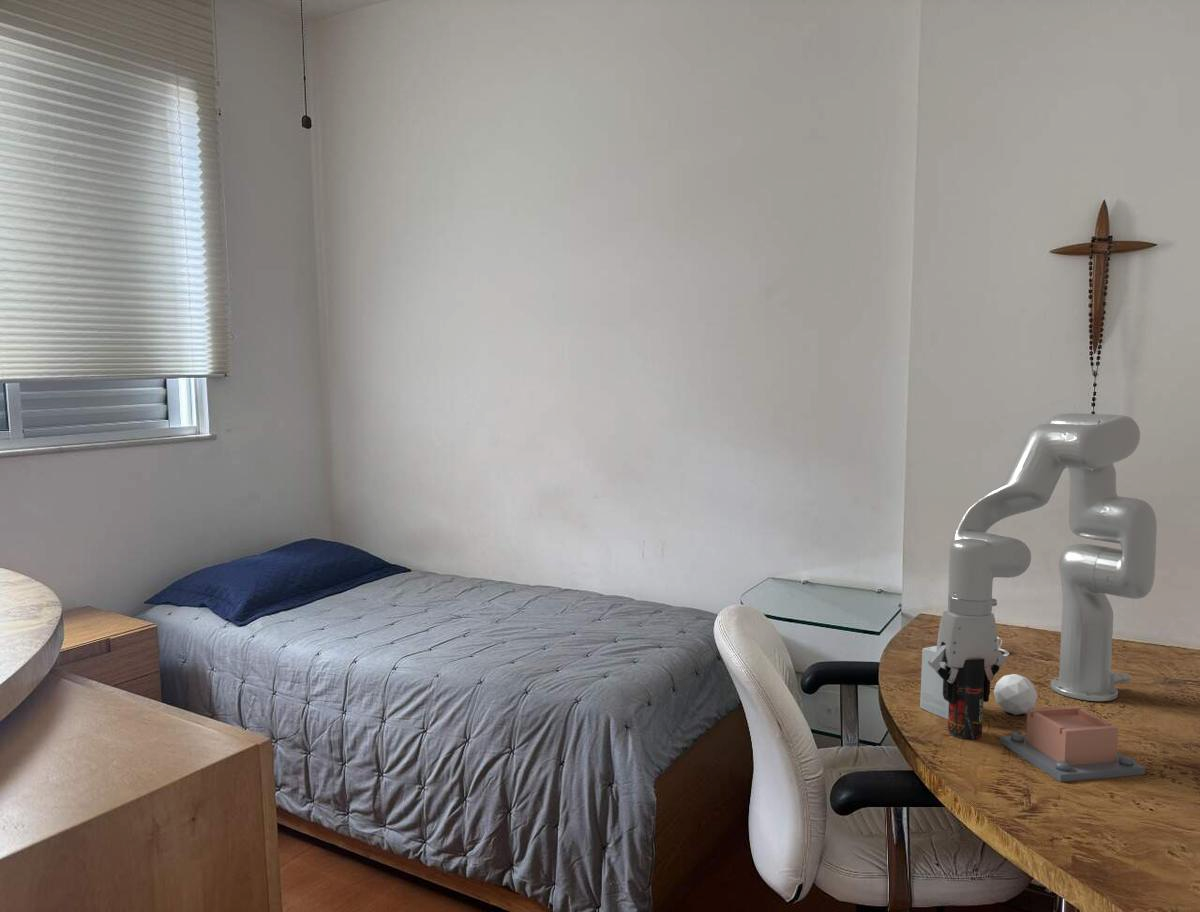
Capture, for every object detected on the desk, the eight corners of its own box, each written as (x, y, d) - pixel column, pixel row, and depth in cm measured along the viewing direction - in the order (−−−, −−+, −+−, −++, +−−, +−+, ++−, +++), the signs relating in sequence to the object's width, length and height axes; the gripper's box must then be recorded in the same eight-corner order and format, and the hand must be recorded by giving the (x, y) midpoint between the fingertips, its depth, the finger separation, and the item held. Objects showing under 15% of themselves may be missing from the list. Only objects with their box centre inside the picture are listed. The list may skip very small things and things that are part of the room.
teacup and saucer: (973, 657, 213) (974, 640, 213) (967, 647, 221) (968, 631, 221) (1012, 659, 212) (1013, 643, 211) (1005, 649, 219) (1005, 633, 219)
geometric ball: (1018, 723, 178) (1041, 690, 179) (1025, 723, 171) (1048, 689, 172) (983, 699, 181) (1005, 667, 182) (988, 698, 174) (1011, 664, 175)
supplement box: (948, 720, 173) (950, 657, 171) (918, 708, 179) (920, 647, 178) (974, 714, 176) (977, 652, 175) (944, 702, 182) (946, 642, 181)
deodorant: (948, 725, 170) (951, 649, 169) (982, 730, 168) (985, 653, 166) (946, 736, 165) (949, 658, 164) (981, 742, 162) (984, 662, 161)
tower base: (1078, 736, 165) (1079, 699, 164) (1145, 774, 149) (1147, 733, 148) (1000, 742, 162) (1002, 704, 161) (1060, 781, 146) (1062, 739, 146)
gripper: (999, 599, 169) (995, 690, 171) (916, 603, 166) (913, 696, 168) (1024, 609, 162) (1020, 704, 163) (938, 613, 159) (934, 710, 160)
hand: (965, 699), depth 166 cm, fingers closed on deodorant, 5 cm apart
